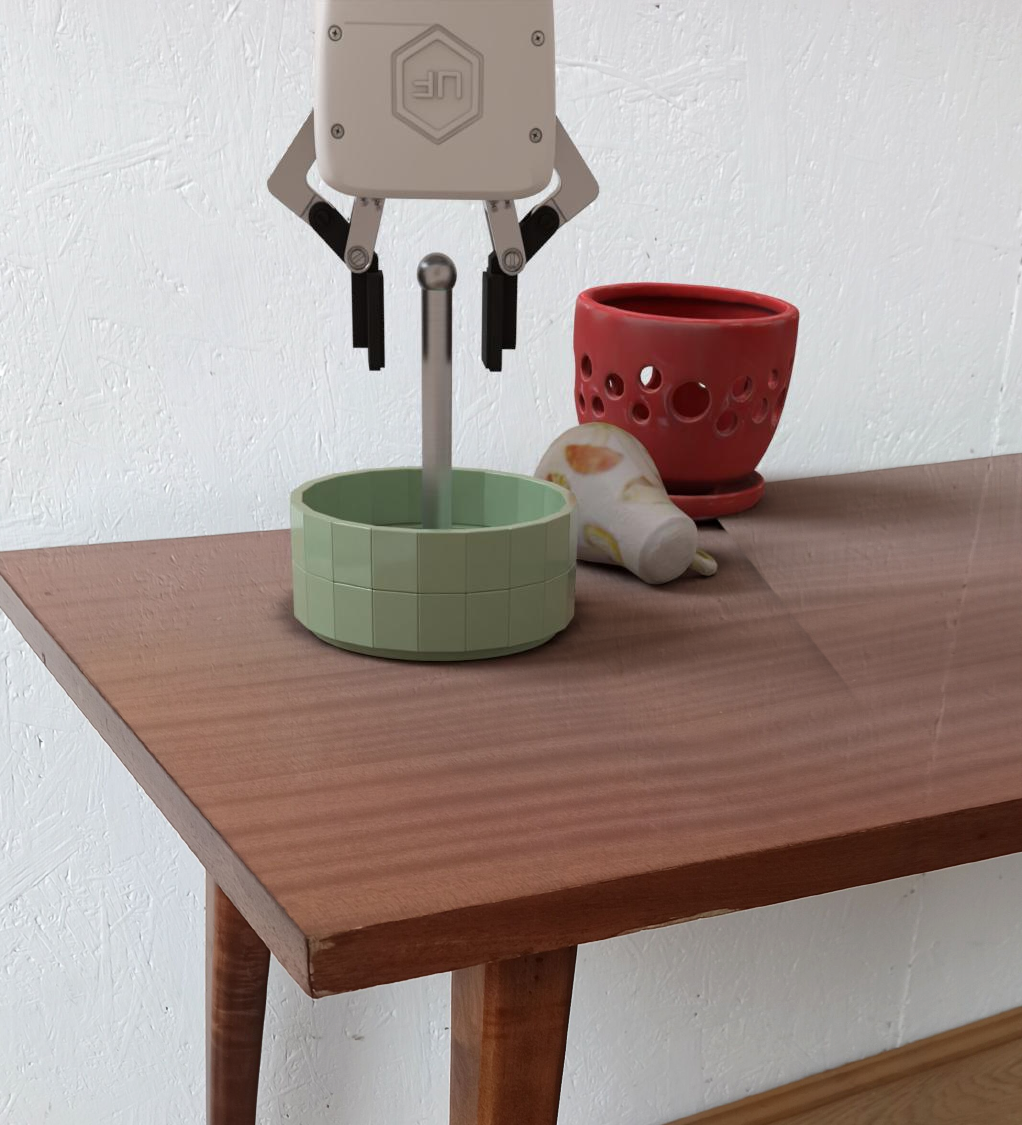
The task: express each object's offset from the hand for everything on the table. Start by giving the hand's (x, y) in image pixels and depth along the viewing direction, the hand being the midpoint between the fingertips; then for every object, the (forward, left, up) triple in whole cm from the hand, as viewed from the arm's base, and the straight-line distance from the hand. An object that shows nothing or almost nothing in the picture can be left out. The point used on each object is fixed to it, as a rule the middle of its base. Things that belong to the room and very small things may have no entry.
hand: (434, 362), depth 80 cm
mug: (-11, -10, -12) cm, 19 cm away
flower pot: (-16, -24, -12) cm, 31 cm away
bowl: (0, 0, -12) cm, 12 cm away
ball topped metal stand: (0, 0, -11) cm, 11 cm away
